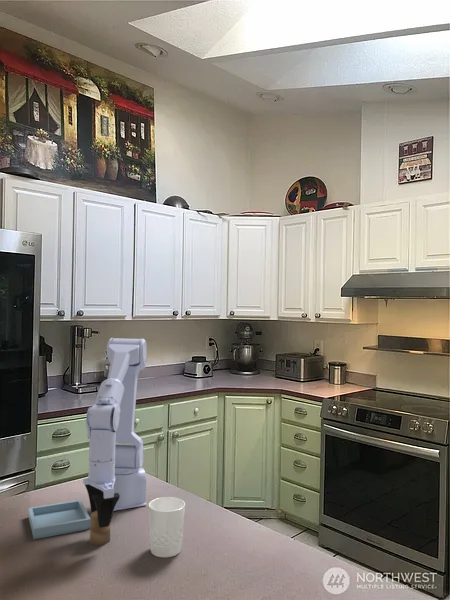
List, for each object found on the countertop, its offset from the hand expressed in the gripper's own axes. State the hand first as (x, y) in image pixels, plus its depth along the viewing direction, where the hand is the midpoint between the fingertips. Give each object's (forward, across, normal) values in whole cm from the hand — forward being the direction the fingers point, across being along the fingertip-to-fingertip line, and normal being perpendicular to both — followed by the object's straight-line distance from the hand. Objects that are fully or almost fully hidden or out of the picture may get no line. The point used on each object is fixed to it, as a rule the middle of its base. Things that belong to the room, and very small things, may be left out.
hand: (100, 519), depth 109 cm
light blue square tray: (+5, -13, -7) cm, 16 cm away
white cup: (+5, +10, +12) cm, 16 cm away
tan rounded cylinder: (+5, 0, 0) cm, 5 cm away
